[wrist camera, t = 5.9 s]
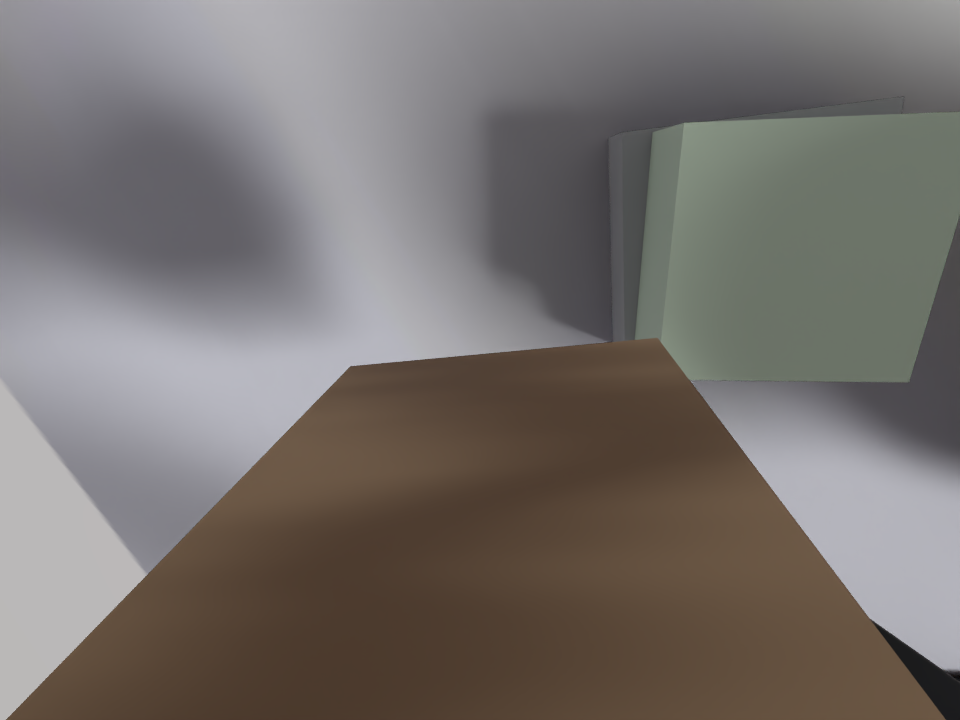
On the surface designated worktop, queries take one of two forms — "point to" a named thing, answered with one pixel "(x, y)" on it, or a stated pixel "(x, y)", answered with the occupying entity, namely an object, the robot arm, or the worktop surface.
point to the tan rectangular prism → (493, 567)
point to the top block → (798, 244)
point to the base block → (631, 197)
